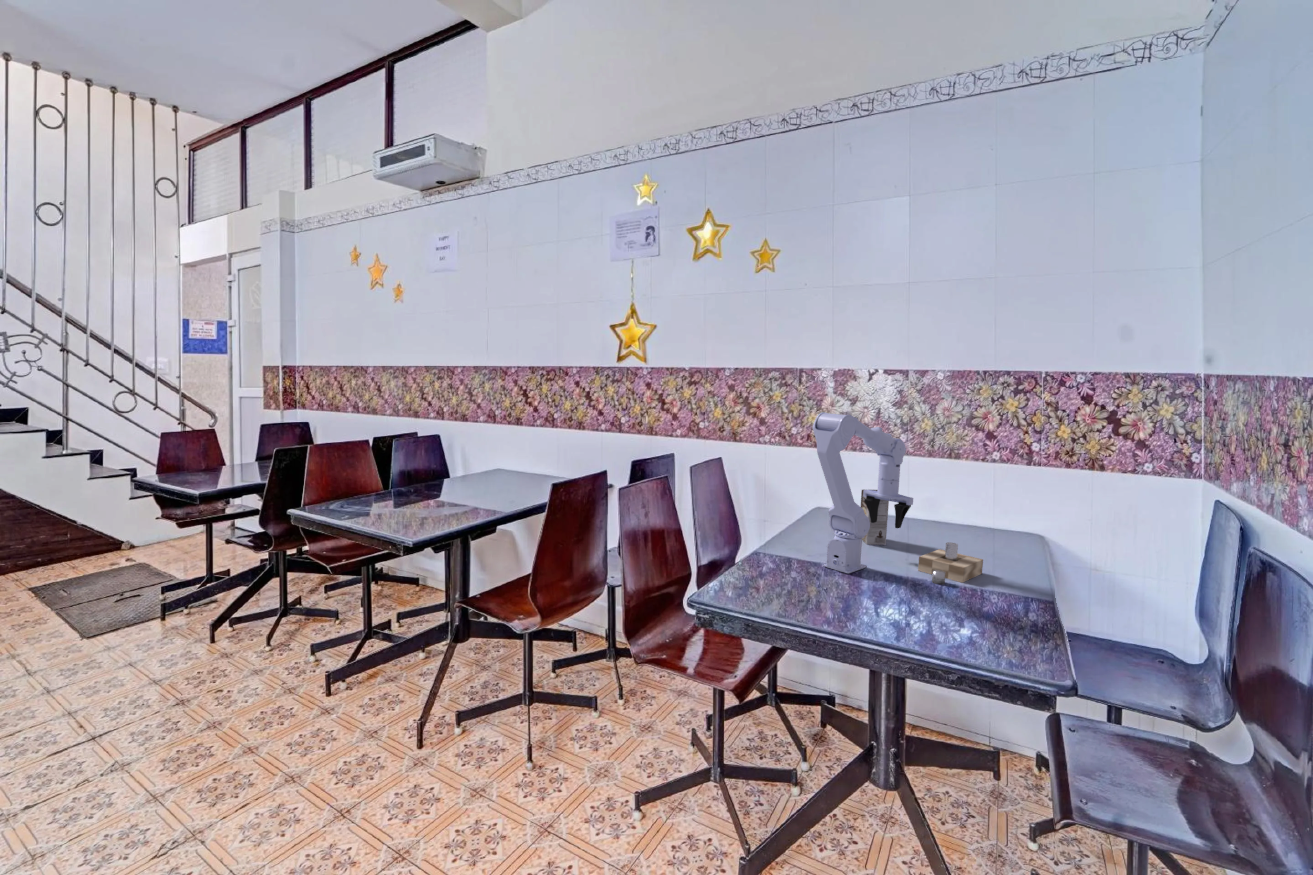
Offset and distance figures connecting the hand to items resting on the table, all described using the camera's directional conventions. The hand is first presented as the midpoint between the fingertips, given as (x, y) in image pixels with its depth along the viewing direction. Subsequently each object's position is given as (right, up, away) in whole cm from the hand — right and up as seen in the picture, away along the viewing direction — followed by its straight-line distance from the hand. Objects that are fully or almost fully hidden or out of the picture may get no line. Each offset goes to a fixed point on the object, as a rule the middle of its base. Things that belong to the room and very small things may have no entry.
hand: (885, 524), depth 182 cm
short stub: (+7, -12, -19) cm, 24 cm away
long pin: (+14, -12, -11) cm, 21 cm away
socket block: (+14, -12, -10) cm, 21 cm away
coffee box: (+3, -8, +19) cm, 21 cm away
